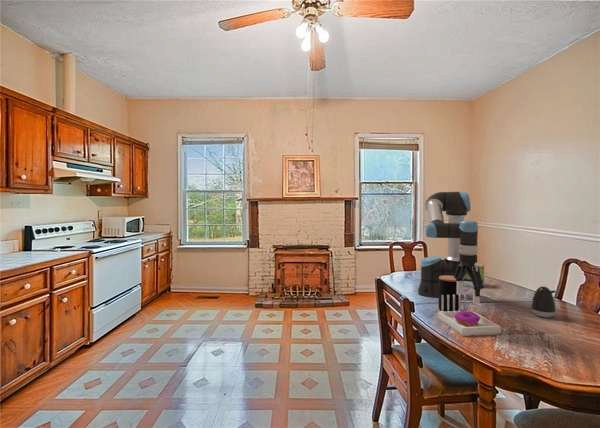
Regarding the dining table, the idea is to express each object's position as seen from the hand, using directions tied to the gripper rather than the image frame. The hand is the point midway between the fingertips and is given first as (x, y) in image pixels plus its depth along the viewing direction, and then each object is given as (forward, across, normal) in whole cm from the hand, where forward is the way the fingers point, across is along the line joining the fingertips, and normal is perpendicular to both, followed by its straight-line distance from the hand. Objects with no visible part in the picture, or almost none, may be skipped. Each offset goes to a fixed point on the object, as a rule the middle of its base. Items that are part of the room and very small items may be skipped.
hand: (467, 298), depth 161 cm
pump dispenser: (+14, -8, +46) cm, 49 cm away
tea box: (+15, -72, +46) cm, 86 cm away
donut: (+12, 0, 0) cm, 12 cm away
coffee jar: (+14, -22, +3) cm, 26 cm away
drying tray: (+13, 0, 0) cm, 13 cm away
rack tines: (+13, -12, 0) cm, 18 cm away
